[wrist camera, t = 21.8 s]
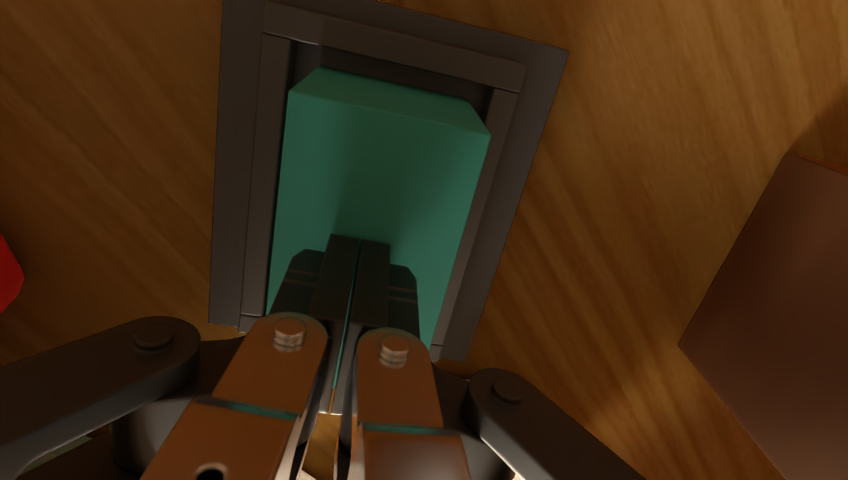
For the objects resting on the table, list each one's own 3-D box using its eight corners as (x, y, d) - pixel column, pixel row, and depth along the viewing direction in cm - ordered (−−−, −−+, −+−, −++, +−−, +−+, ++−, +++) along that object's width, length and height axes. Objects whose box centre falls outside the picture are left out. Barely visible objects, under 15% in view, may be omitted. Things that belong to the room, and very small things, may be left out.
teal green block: (319, 64, 14) (288, 89, 10) (467, 98, 15) (492, 134, 11) (291, 291, 18) (259, 378, 14) (412, 311, 18) (415, 399, 14)
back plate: (240, -34, 14) (209, -41, 12) (556, 46, 16) (582, 54, 13) (220, 301, 19) (197, 340, 17) (461, 339, 21) (468, 380, 19)
